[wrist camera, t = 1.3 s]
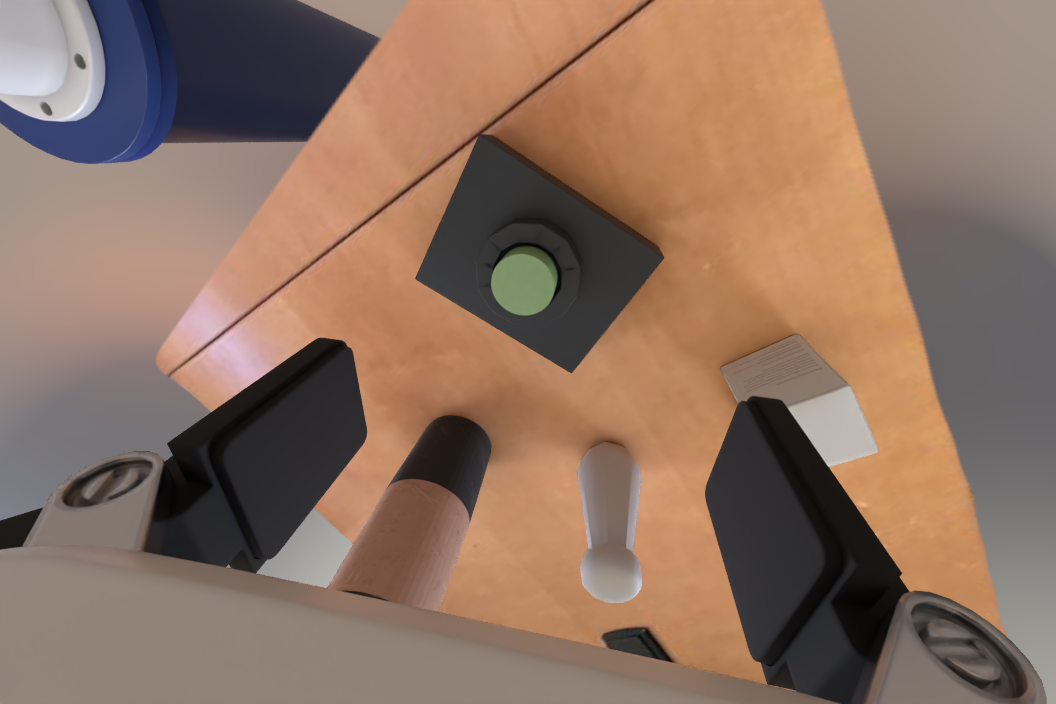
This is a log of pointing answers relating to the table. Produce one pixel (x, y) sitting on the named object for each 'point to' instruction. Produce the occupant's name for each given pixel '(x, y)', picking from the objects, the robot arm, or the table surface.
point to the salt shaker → (610, 522)
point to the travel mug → (420, 519)
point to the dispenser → (548, 224)
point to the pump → (524, 280)
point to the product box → (806, 396)
